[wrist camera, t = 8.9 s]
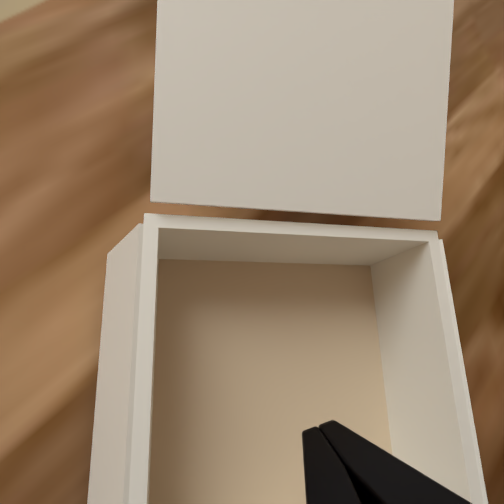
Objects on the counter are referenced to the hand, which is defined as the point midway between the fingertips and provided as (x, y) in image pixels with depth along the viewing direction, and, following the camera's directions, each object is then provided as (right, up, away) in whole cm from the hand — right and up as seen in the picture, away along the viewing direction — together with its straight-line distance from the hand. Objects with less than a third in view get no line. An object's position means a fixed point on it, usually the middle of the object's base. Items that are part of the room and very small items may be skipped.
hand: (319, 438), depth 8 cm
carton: (0, -4, +8) cm, 9 cm away
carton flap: (0, +5, +5) cm, 8 cm away
